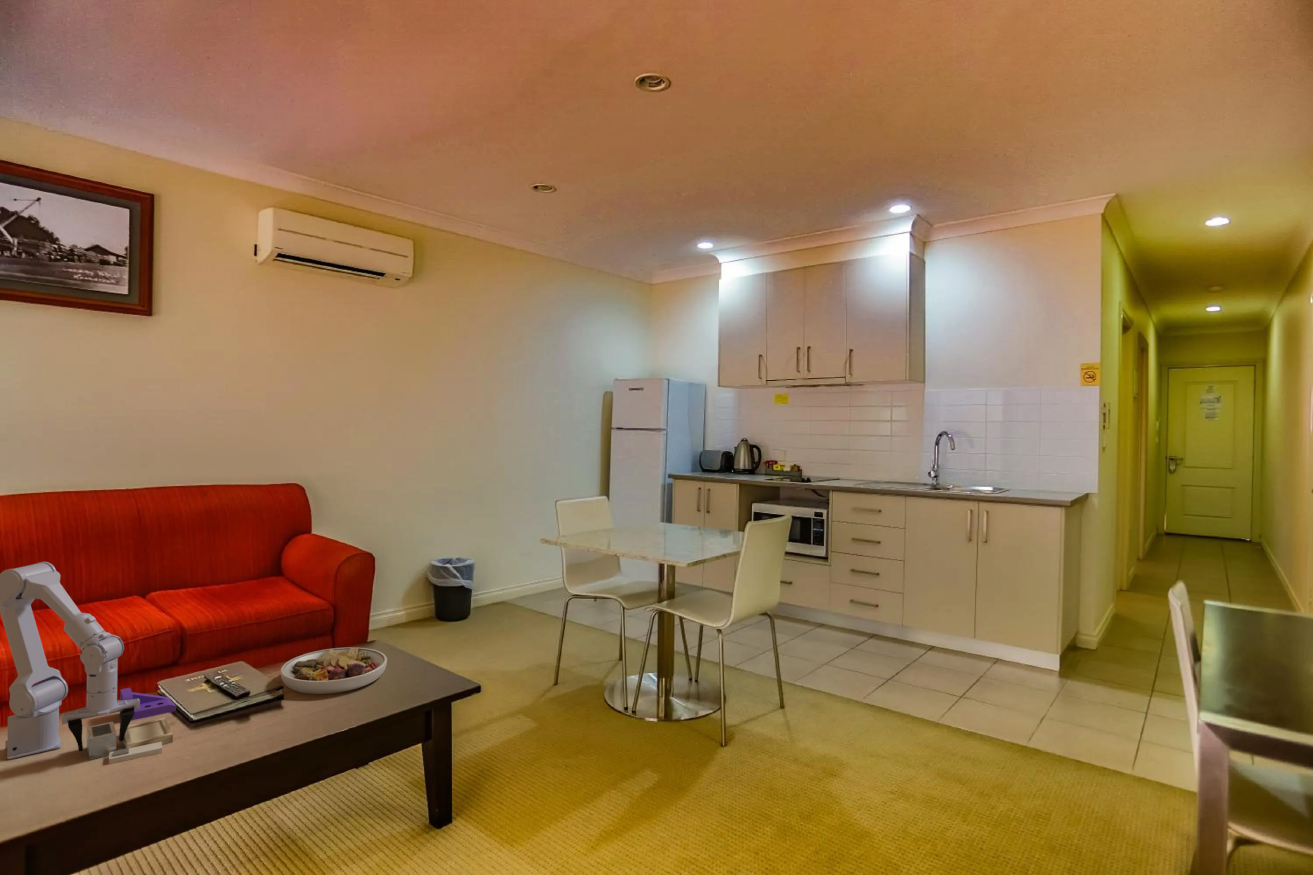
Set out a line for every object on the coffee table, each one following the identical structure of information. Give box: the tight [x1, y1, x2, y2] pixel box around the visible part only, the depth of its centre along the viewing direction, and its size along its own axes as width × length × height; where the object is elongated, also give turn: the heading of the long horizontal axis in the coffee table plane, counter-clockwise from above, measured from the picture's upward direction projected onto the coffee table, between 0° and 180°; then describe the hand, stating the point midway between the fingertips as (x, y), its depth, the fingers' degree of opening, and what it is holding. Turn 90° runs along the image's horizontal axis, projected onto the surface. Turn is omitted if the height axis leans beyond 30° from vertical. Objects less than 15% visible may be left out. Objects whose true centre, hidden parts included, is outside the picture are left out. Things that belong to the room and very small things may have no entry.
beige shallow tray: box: [123, 717, 174, 749], centre depth 172 cm, size 9×12×2 cm
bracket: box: [119, 687, 177, 722], centre depth 187 cm, size 12×7×7 cm, turn 133°
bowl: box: [280, 646, 388, 695], centre depth 215 cm, size 30×30×8 cm
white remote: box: [108, 742, 163, 765], centre depth 164 cm, size 4×10×2 cm, turn 126°
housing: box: [85, 721, 117, 761], centre depth 166 cm, size 5×8×5 cm, turn 43°
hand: (101, 744), depth 166 cm, fingers open, 7 cm apart
